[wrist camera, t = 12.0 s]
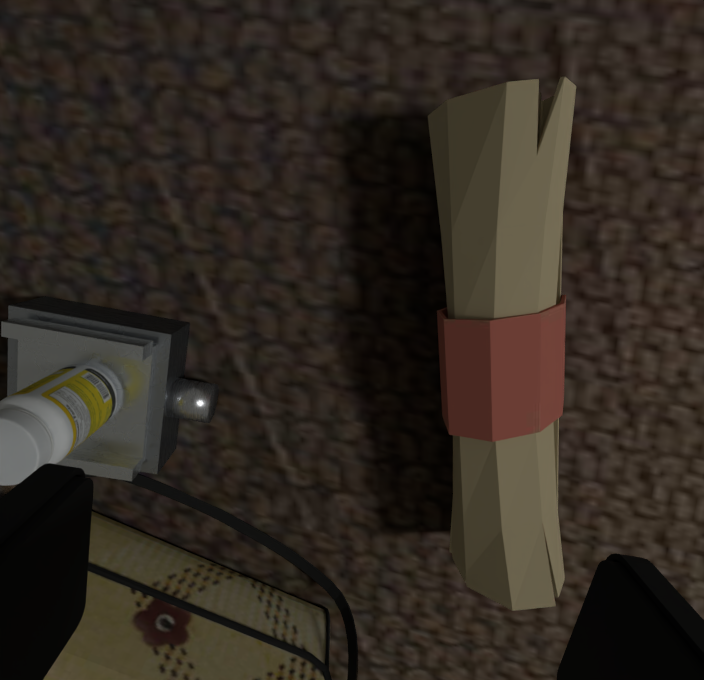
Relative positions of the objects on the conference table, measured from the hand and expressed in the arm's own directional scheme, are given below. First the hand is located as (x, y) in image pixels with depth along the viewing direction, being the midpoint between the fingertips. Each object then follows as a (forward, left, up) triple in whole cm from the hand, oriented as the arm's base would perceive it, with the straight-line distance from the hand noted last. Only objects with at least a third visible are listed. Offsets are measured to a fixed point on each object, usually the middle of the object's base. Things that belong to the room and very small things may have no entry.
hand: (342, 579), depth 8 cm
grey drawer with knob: (+9, -16, -28) cm, 33 cm away
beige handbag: (+23, -8, -29) cm, 38 cm away
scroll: (+1, +12, -29) cm, 31 cm away
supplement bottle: (+9, -17, -24) cm, 31 cm away
